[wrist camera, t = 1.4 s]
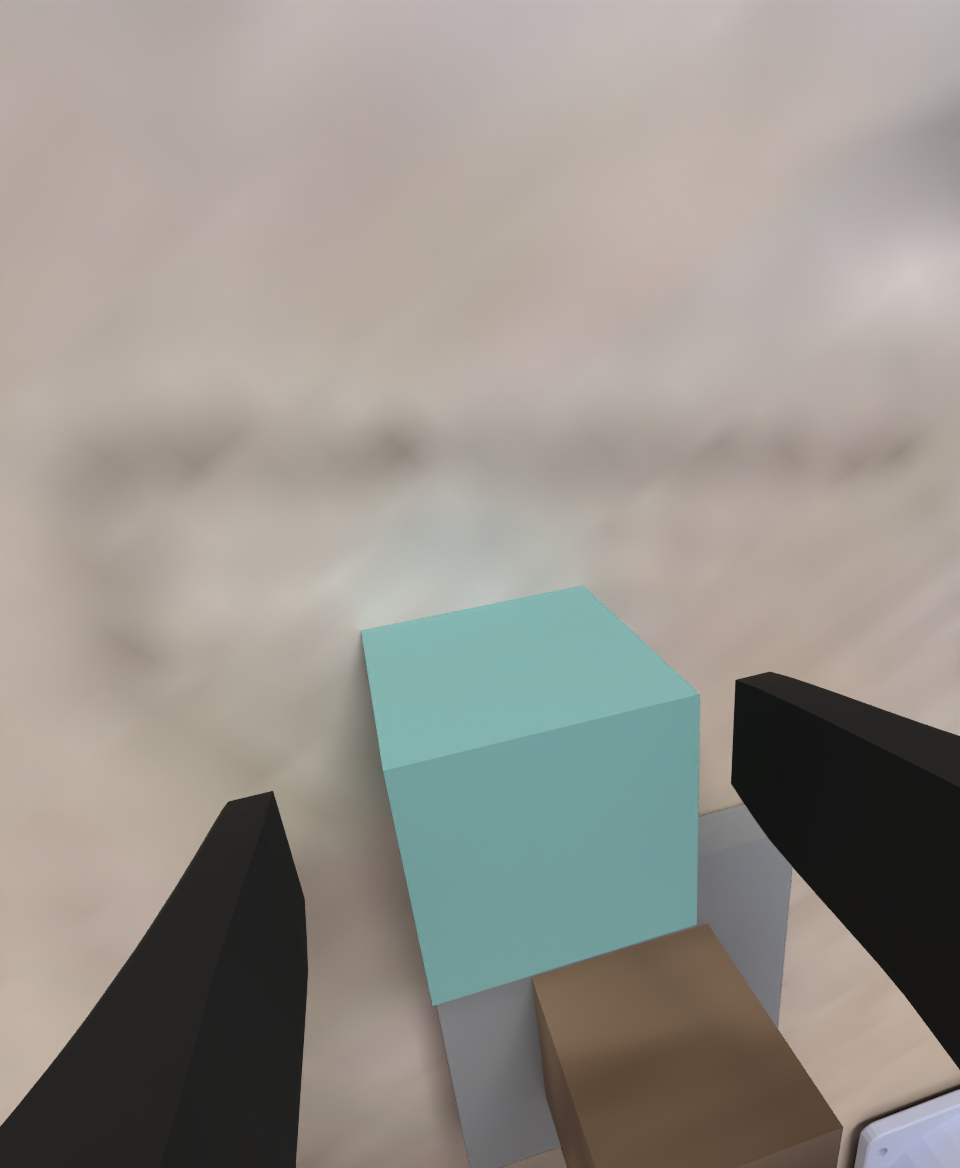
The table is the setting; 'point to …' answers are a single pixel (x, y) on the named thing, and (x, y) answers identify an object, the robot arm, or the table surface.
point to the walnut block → (674, 1065)
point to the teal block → (535, 785)
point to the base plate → (507, 1012)
